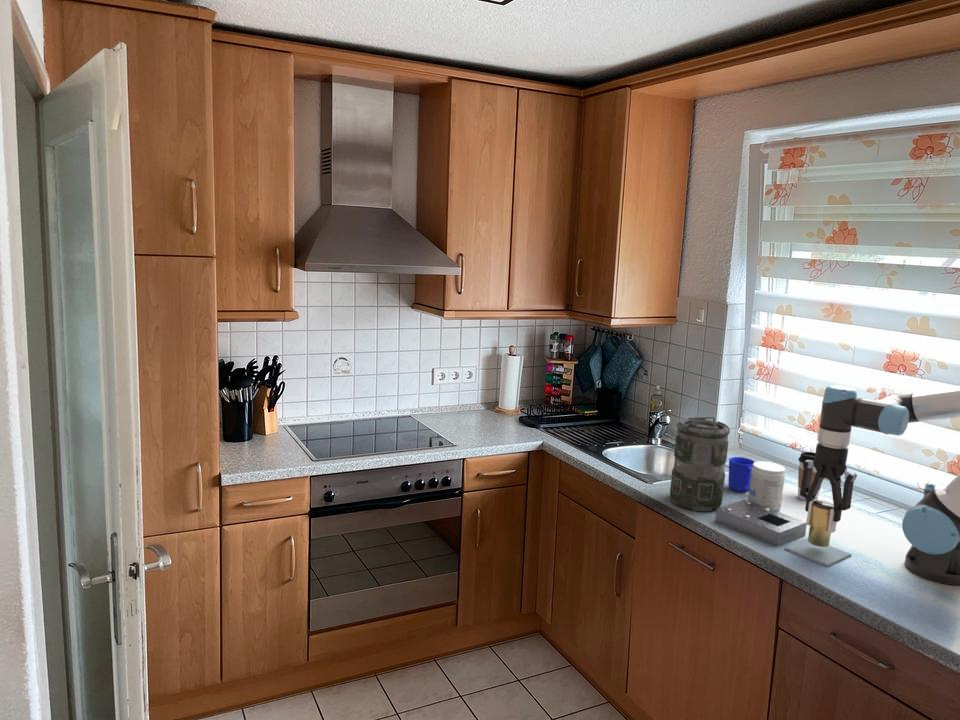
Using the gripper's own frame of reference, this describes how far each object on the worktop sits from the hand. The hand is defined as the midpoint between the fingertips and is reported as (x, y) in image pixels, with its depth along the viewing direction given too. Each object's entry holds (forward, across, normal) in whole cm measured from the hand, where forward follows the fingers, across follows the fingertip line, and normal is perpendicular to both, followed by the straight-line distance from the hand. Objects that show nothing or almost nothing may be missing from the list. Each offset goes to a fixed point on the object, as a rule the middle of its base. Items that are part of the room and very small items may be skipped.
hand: (820, 527), depth 192 cm
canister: (+8, +40, -1) cm, 41 cm away
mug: (+7, +39, -24) cm, 46 cm away
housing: (+7, +18, -1) cm, 19 cm away
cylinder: (+4, 0, 0) cm, 4 cm away
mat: (+7, 0, 0) cm, 7 cm away
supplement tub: (+7, +25, -14) cm, 29 cm away
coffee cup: (+7, +24, -38) cm, 45 cm away
